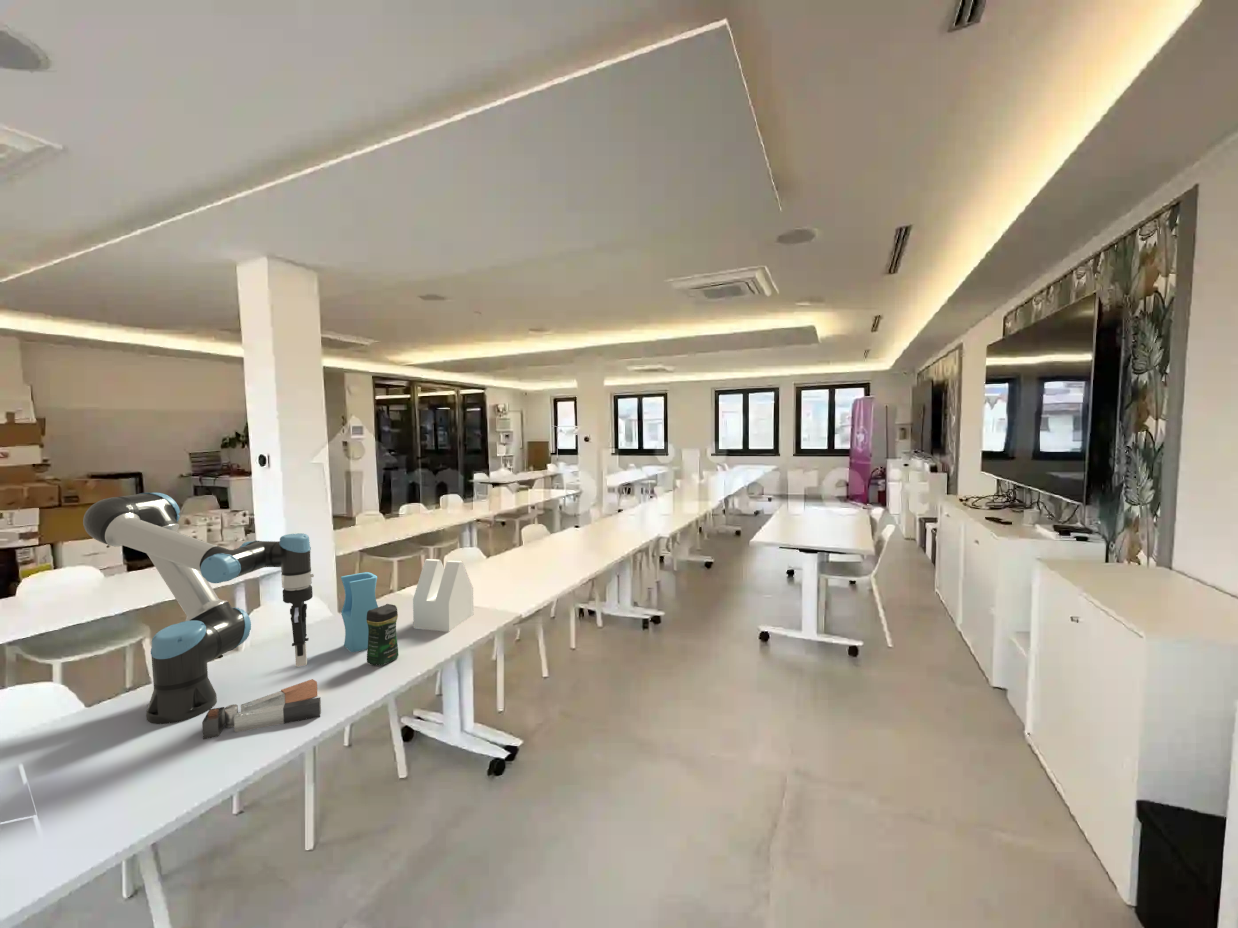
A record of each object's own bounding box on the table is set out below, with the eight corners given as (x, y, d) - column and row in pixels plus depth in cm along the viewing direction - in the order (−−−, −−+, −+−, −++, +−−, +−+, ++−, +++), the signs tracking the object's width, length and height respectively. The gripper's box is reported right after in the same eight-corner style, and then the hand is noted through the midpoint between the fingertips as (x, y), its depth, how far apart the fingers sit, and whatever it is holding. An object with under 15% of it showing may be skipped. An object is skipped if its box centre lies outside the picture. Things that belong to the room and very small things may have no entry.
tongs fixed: (203, 739, 136) (202, 718, 135) (210, 726, 142) (209, 705, 141) (319, 717, 146) (319, 698, 146) (322, 706, 152) (321, 687, 152)
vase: (342, 644, 195) (340, 576, 194) (370, 637, 202) (368, 571, 200) (352, 653, 188) (349, 582, 187) (380, 645, 195) (379, 576, 193)
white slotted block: (449, 631, 208) (448, 567, 206) (413, 628, 212) (412, 565, 210) (473, 614, 227) (472, 556, 225) (440, 611, 230) (439, 553, 229)
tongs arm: (227, 728, 140) (226, 711, 140) (223, 725, 142) (222, 707, 142) (317, 695, 158) (316, 679, 157) (313, 692, 160) (312, 676, 159)
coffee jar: (380, 668, 177) (379, 612, 175) (362, 664, 180) (361, 609, 178) (403, 656, 185) (402, 603, 184) (386, 652, 189) (384, 600, 187)
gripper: (309, 591, 155) (313, 671, 157) (314, 579, 167) (318, 654, 168) (278, 594, 152) (283, 676, 154) (285, 582, 164) (290, 658, 165)
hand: (301, 664), depth 161 cm, fingers closed
